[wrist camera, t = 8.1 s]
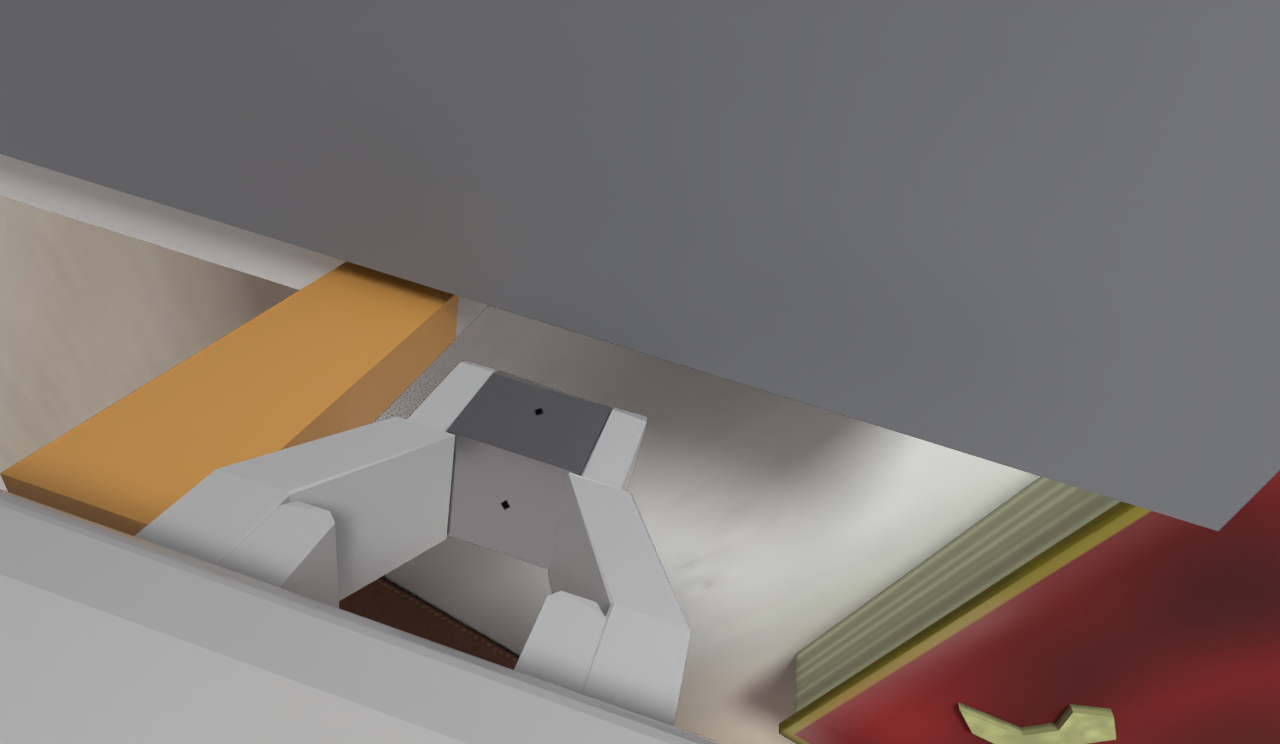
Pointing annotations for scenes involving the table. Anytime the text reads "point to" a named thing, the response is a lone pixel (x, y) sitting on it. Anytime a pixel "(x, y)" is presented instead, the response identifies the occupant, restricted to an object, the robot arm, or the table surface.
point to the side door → (231, 361)
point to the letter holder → (422, 621)
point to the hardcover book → (1062, 633)
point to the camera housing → (757, 192)
